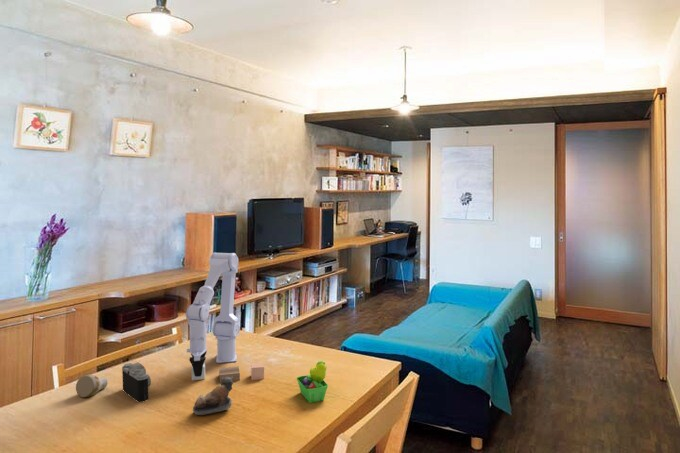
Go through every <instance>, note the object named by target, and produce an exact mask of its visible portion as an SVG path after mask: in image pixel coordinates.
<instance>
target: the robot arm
mask: <svg viewBox="0 0 680 453" xmlns="http://www.w3.org/2000/svg"><path fill="white" fill-rule="evenodd" d="M208 264H209V267H210V268H209V270H208V273H207V277H206V279H205V282H204V285H203V286H201V287H199V289H198V292H197V293H196V296H195V298H194V300H193V302H192V304H190V305H189V306H188V307H187V309H186V312H185V318H186V319H187V324H188V326H189V348H187V349H186V353H190V355H191V357H189V359H188V360H189V362H190V364H191V367H192V366H193V370H194V375H195V377H198V376H201V374H202V368H203V364H204V363H205V362H206V359H207V357H206V355H207V351H208V348H207V320H208V317H209V315H210V308H211V306H210V304H211V302H212V300H213V297H214V295H215V291H214V289H215V288H214V287H215V286H216V284H217V282H218V280H219V278H220V277H221V275H222V279H221V281H222V282H221V293H220V294H221V296H220V312H219V315H216V317H215V318H214V321H213V325H212V329H211V332H212V335H213V336H214V337H215V338H214V339H216V351H217V352H216V353H217V354H216V356H215V357H216V360H215V363H216V364H219V363H220V364H221V363H233V362H237V361H238V360H237V358H238V357H237V352H236V338H237V337H238V336H239V334H240V330H241V329H240V318H238V317H237V316H236V315H235V314H234V303H235V302H234V301H235V291H236V290H235V287H236V286H235V285H236V274H238V272H239V257H238V256H237V253H235V252H230V253H229V252H213V253H211V255H210V258H209V261H208Z"/></svg>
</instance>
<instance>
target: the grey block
mask: <svg viewBox="0 0 680 453" xmlns="http://www.w3.org/2000/svg"><path fill="white" fill-rule="evenodd" d="M205 379H206V362H204V364H203V368H202V374H201V376H198V377H195V375H194V370H193V366H192V365H191V381H198V380H205Z"/></svg>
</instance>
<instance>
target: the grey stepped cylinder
mask: <svg viewBox="0 0 680 453" xmlns="http://www.w3.org/2000/svg"><path fill="white" fill-rule="evenodd" d="M108 384H109V383H108V379H107V378H106V377H103V376H102V377H99V376H97V375H94V374H86V375H82V376H81V377H80V378H78V380H77V382H76V384H75V391H76V394H77V395H78V396H79V397H81V398H89V397H92V396H93V395H95V394H97V393H98V392H99V391H100V390H104V389H105V388H106V387H107V386H108ZM103 388H104V389H103Z"/></svg>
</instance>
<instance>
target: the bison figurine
mask: <svg viewBox="0 0 680 453" xmlns="http://www.w3.org/2000/svg"><path fill="white" fill-rule="evenodd" d="M232 380H233V377H232V378H230V377H225V378H222V382H219V383H220V385H218V386H216V387H215V388H213V389H212V390H211V391H210V392H208V393H207V394H206V395H203V394H200V395H199V396H198V397H197V399H196V400H195V402H194V405H193V406H192V411H193V414H195V415H199V416H205V415H211V414H216V413H219V412H223V411H226V410H229V409H230V408H231V407H232V404H233V403H232V398H231V397H229V394H230V392H231V390H232V389H233V385H234V381H232Z"/></svg>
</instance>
